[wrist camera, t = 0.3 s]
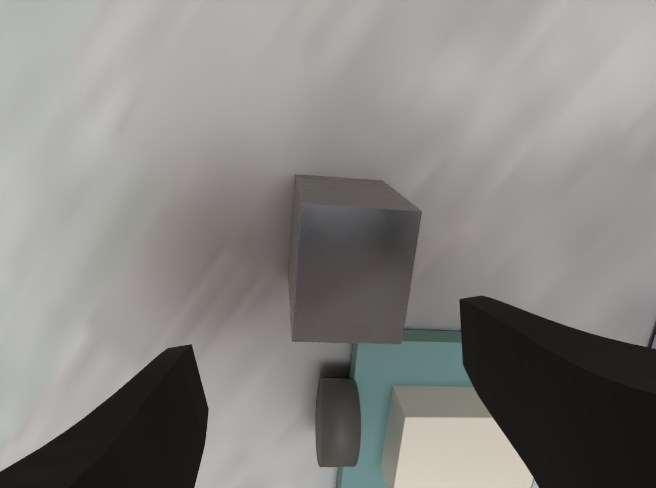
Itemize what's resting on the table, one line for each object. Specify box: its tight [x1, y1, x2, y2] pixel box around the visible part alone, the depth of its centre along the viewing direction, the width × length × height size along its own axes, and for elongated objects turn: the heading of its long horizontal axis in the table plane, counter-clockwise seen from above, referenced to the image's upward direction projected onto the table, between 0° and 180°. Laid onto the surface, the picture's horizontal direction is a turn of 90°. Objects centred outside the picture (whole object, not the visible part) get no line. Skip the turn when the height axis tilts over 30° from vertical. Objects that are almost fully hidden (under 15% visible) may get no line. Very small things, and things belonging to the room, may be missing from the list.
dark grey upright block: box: [288, 174, 422, 344], centre depth 19 cm, size 4×5×6 cm
